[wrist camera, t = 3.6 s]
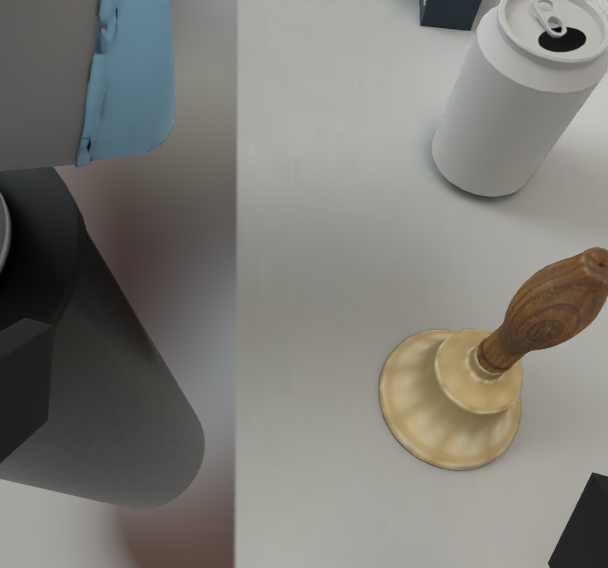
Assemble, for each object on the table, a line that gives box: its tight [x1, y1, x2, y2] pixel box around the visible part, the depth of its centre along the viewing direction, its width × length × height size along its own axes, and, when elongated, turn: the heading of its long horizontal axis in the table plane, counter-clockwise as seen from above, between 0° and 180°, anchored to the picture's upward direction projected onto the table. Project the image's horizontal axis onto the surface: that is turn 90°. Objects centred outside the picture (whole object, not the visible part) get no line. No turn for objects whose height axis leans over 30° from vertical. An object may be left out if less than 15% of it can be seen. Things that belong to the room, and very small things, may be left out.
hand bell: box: [379, 247, 608, 470], centre depth 24 cm, size 8×8×16 cm
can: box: [432, 0, 608, 197], centre depth 33 cm, size 8×8×12 cm
